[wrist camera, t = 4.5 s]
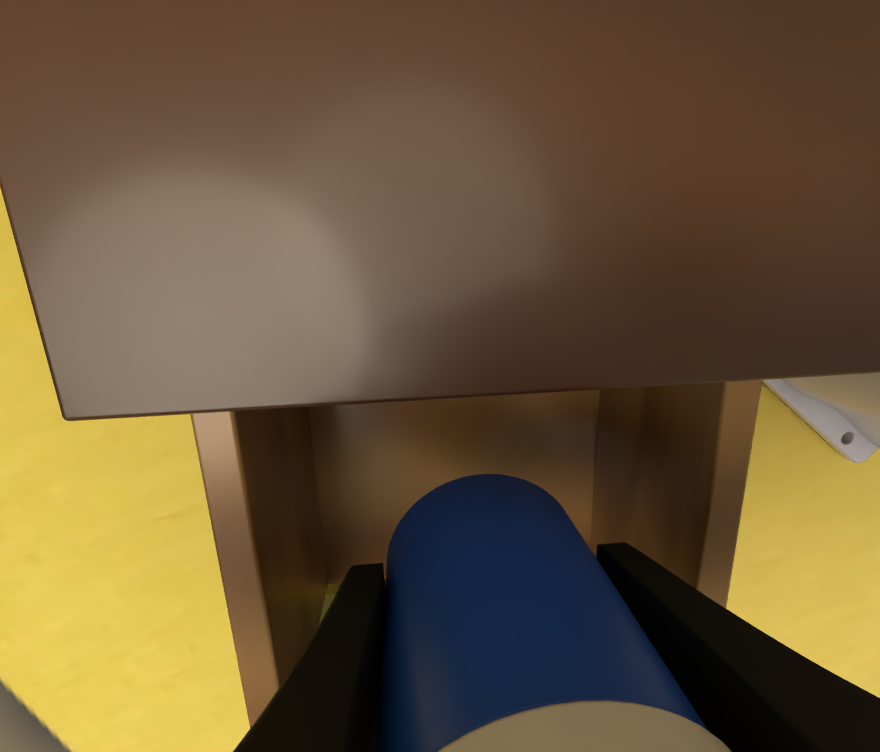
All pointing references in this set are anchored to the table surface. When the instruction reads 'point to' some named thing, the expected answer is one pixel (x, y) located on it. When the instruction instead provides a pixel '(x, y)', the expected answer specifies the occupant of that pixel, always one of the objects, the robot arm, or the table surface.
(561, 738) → the medicine bottle
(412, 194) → the cabinet
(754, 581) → the table surface
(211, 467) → the drawer
